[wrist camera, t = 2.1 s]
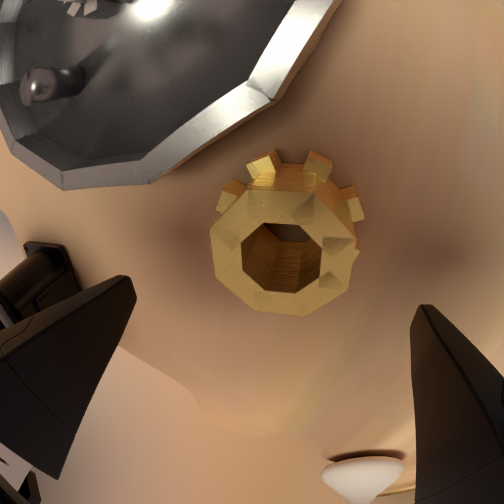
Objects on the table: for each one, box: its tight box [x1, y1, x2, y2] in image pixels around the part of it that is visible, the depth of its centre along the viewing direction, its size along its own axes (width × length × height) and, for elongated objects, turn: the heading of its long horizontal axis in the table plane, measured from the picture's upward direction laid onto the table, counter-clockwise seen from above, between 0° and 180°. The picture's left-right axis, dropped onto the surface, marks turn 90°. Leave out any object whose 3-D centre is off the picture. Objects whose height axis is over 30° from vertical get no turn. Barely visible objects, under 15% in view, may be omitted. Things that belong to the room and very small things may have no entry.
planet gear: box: [209, 149, 365, 316], centre depth 12 cm, size 6×6×4 cm
